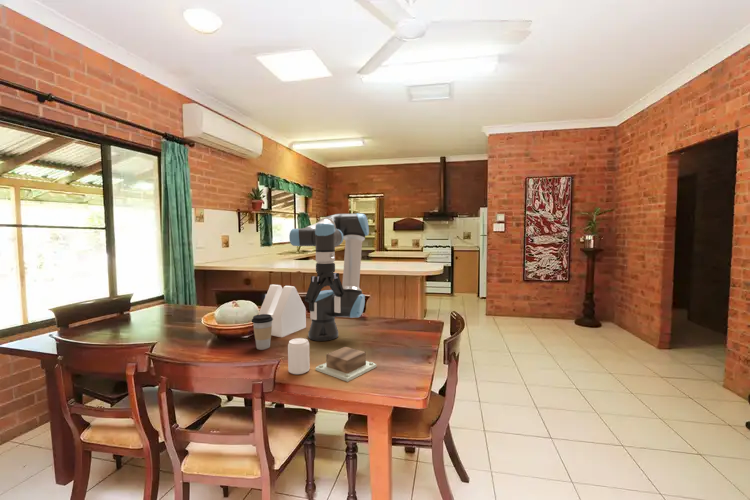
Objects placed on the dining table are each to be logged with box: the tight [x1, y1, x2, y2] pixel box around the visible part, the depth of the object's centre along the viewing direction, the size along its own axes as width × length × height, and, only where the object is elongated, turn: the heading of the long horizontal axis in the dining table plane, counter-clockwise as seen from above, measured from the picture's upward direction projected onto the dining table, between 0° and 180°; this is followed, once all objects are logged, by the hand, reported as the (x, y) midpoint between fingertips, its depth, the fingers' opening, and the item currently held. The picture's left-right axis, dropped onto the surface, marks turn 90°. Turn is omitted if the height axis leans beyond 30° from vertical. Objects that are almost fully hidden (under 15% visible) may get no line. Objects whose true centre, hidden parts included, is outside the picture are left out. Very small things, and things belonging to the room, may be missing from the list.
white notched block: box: [258, 284, 307, 338], centre depth 187 cm, size 19×15×25 cm
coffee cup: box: [251, 314, 273, 351], centre depth 162 cm, size 9×9×15 cm
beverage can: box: [287, 337, 311, 375], centre depth 135 cm, size 8×8×12 cm
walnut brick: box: [325, 346, 367, 374], centre depth 138 cm, size 11×11×5 cm
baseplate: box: [315, 360, 377, 383], centre depth 138 cm, size 17×17×2 cm
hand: (325, 315), depth 138 cm, fingers open, 13 cm apart
